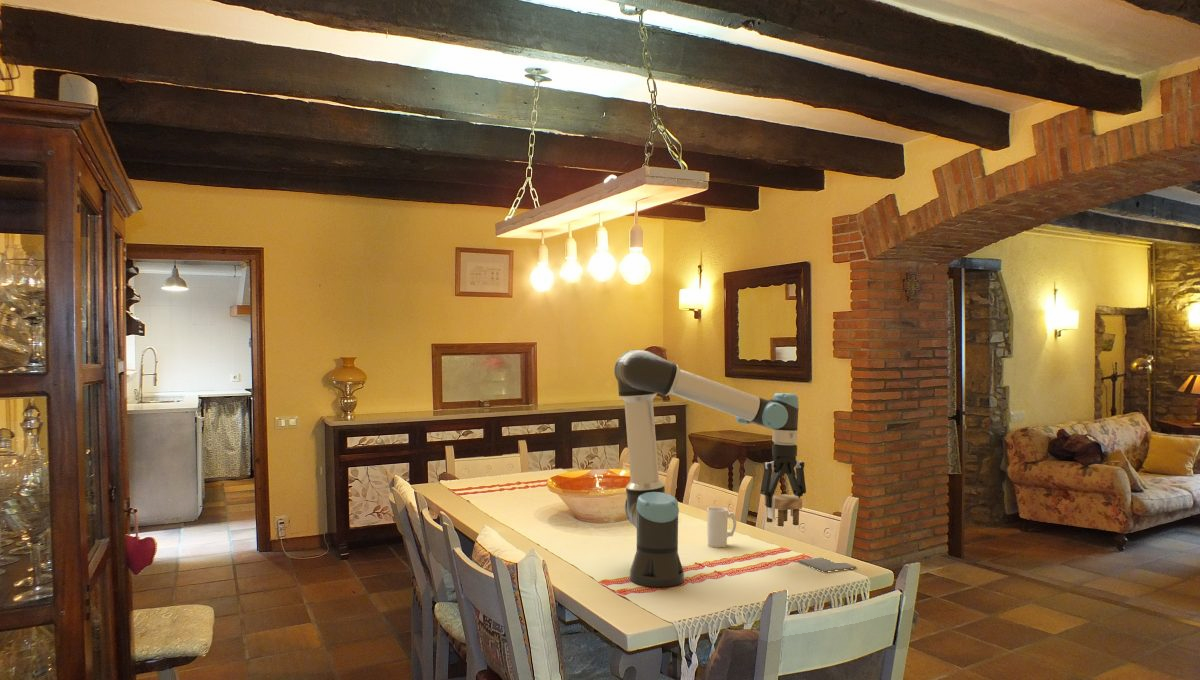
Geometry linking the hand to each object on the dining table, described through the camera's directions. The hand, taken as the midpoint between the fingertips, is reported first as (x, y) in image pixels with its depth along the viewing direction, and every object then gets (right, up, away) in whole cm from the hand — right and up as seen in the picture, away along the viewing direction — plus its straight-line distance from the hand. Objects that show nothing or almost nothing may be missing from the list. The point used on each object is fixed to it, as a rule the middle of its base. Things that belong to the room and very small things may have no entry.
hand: (782, 517), depth 234 cm
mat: (+13, -14, -4) cm, 19 cm away
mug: (-16, -14, +19) cm, 28 cm away
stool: (0, -2, 0) cm, 2 cm away
